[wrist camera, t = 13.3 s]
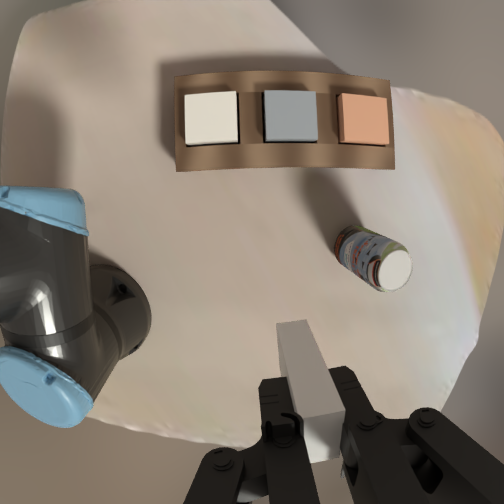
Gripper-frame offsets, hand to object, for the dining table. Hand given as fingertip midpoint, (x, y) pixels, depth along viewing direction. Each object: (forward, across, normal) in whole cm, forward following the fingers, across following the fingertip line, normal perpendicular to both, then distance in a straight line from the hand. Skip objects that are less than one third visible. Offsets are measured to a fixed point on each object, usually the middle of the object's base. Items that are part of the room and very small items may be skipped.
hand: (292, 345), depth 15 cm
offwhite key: (+25, -4, +15) cm, 30 cm away
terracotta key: (+25, +14, +14) cm, 32 cm away
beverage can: (+28, +14, -3) cm, 31 cm away
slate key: (+25, +5, +15) cm, 30 cm away
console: (+28, +5, +15) cm, 32 cm away
